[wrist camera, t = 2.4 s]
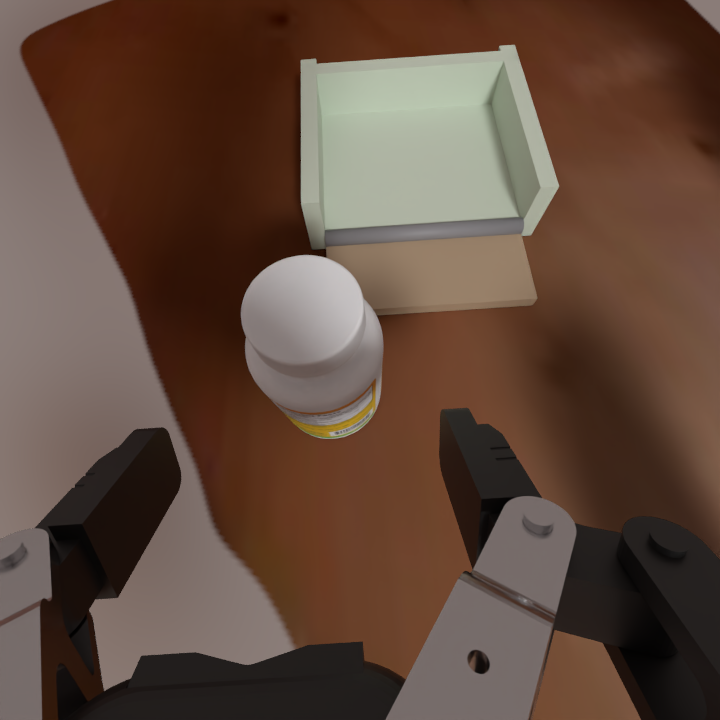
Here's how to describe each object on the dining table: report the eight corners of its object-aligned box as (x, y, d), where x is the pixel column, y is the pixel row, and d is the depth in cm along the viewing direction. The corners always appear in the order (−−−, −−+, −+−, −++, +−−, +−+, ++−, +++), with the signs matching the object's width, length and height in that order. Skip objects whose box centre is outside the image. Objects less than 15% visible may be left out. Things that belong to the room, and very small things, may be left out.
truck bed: (496, 104, 29) (514, 44, 25) (549, 304, 23) (583, 264, 19) (310, 117, 29) (300, 59, 25) (312, 319, 23) (301, 282, 19)
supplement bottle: (305, 335, 23) (260, 219, 13) (393, 362, 22) (407, 259, 13) (267, 421, 21) (186, 355, 12) (361, 454, 20) (352, 411, 11)
